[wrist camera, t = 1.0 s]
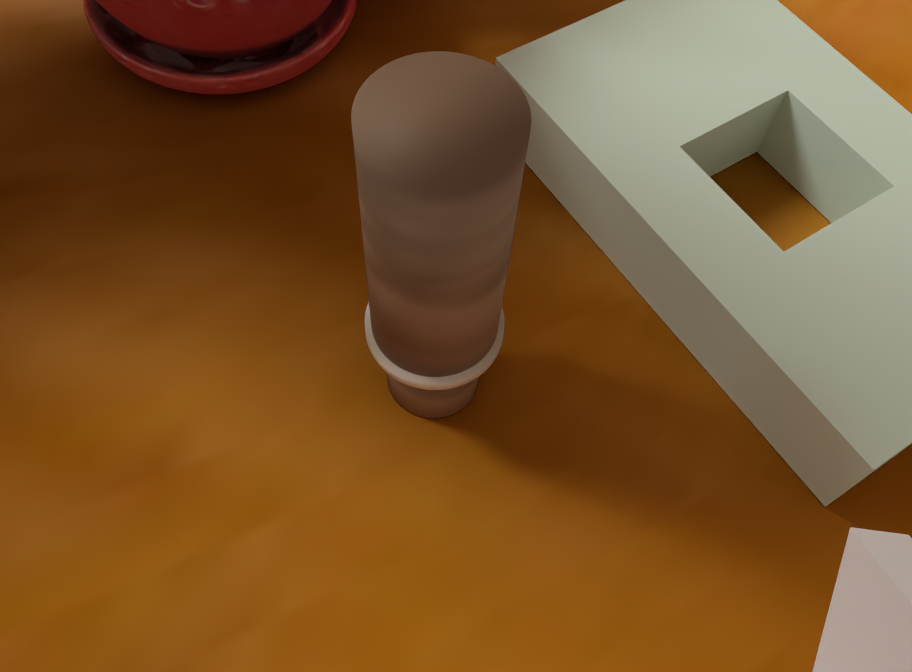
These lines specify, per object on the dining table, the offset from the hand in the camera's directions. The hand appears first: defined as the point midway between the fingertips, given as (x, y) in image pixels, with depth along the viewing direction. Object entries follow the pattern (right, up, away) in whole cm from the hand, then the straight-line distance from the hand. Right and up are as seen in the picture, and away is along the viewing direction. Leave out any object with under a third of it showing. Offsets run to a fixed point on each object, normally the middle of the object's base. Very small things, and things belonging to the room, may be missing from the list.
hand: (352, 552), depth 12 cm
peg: (+1, +2, +19) cm, 19 cm away
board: (+13, +7, +23) cm, 27 cm away
